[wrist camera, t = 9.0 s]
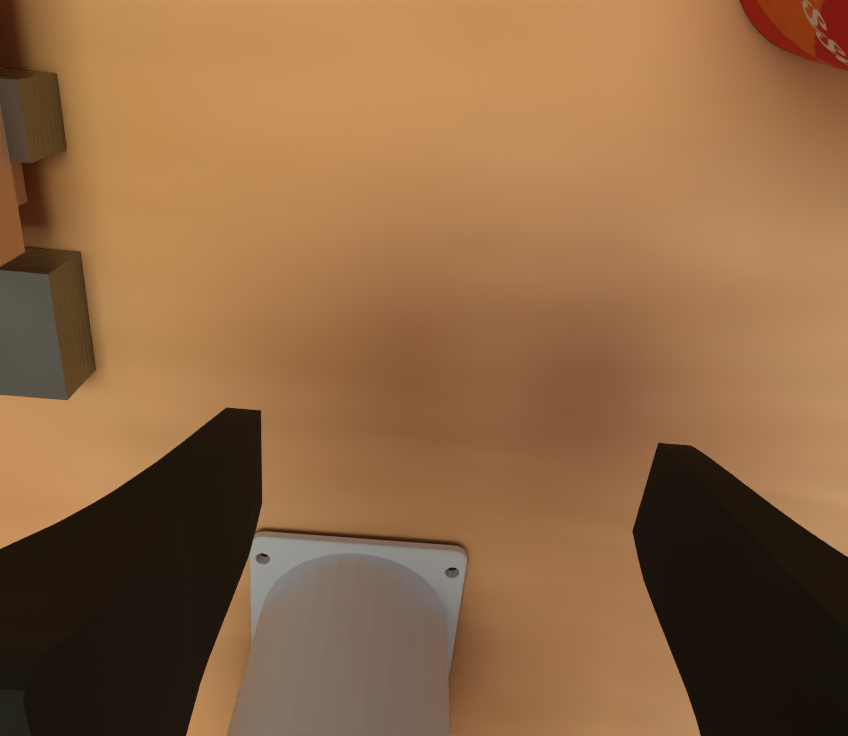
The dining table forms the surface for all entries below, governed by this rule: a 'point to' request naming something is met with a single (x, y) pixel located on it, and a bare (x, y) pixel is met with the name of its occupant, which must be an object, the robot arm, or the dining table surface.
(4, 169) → the tan rectangular block
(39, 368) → the set of grey blocks
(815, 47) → the paper cup
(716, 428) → the dining table surface
